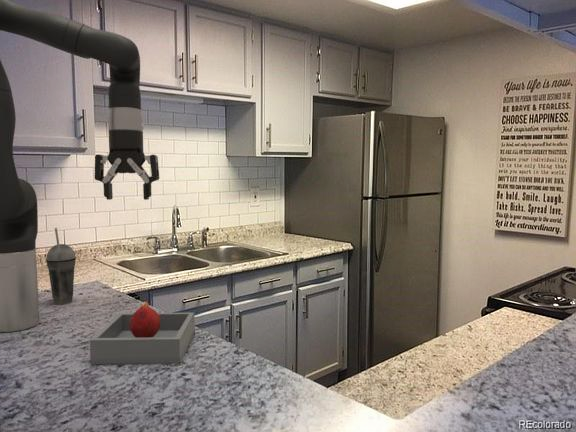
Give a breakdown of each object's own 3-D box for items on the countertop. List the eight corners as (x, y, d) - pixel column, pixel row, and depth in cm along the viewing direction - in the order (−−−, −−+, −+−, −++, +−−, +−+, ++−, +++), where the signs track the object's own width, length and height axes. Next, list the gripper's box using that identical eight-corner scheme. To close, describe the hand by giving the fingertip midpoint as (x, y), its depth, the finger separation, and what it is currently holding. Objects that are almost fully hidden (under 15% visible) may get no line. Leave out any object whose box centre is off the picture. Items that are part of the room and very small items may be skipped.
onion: (151, 348, 89) (150, 307, 88) (124, 346, 90) (123, 305, 90) (165, 338, 95) (164, 299, 94) (139, 336, 96) (138, 297, 95)
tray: (90, 364, 84) (89, 340, 84) (119, 333, 100) (119, 313, 100) (180, 363, 85) (179, 339, 84) (194, 332, 101) (194, 312, 100)
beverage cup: (84, 300, 126) (81, 226, 124) (61, 307, 120) (57, 229, 118) (64, 297, 129) (61, 225, 127) (41, 304, 123) (37, 228, 121)
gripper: (88, 127, 104) (91, 200, 106) (152, 127, 105) (154, 200, 106) (100, 130, 112) (103, 198, 113) (160, 130, 112) (162, 198, 114)
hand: (128, 199), depth 110 cm, fingers open, 8 cm apart
